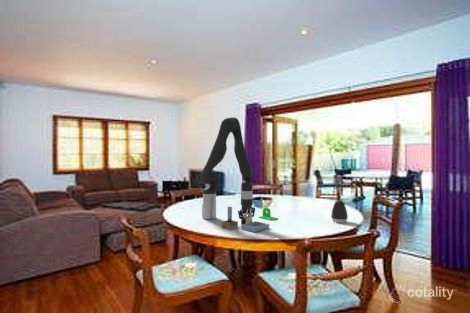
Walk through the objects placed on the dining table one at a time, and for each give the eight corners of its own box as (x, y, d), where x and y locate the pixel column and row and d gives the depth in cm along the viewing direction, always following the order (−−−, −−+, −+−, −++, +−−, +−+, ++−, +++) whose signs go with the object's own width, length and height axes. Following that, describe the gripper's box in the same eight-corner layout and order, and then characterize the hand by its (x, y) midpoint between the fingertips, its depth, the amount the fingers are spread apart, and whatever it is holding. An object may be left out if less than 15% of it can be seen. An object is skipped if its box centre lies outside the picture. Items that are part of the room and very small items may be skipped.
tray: (241, 229, 177) (241, 224, 177) (255, 225, 186) (255, 221, 186) (255, 232, 169) (255, 227, 169) (269, 229, 178) (269, 224, 178)
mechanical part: (258, 219, 206) (258, 208, 206) (264, 218, 210) (264, 207, 210) (272, 222, 197) (272, 210, 197) (277, 220, 202) (277, 209, 202)
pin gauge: (226, 226, 180) (226, 206, 180) (229, 225, 182) (229, 206, 182) (229, 227, 179) (229, 207, 179) (232, 226, 180) (232, 206, 180)
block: (241, 226, 185) (241, 216, 185) (246, 224, 189) (246, 215, 189) (246, 227, 182) (246, 217, 182) (252, 226, 185) (252, 216, 185)
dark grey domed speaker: (337, 225, 188) (337, 201, 188) (328, 221, 198) (328, 199, 198) (351, 224, 190) (351, 201, 190) (341, 221, 200) (341, 198, 200)
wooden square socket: (221, 228, 180) (221, 221, 180) (229, 226, 185) (229, 219, 185) (229, 230, 175) (229, 223, 175) (237, 228, 180) (237, 221, 180)
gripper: (243, 199, 178) (243, 227, 178) (258, 197, 188) (258, 224, 188) (234, 198, 183) (234, 225, 183) (250, 196, 193) (250, 222, 193)
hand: (246, 224), depth 185 cm, fingers closed on block, 5 cm apart
